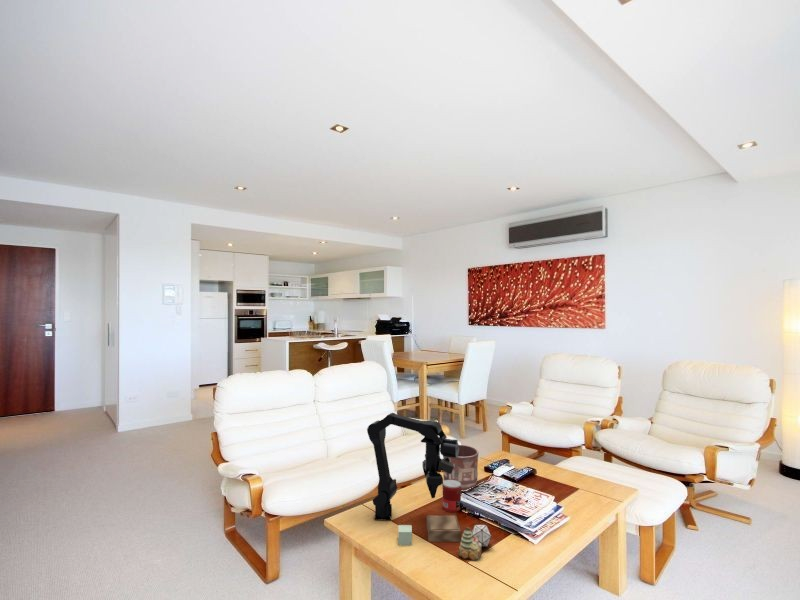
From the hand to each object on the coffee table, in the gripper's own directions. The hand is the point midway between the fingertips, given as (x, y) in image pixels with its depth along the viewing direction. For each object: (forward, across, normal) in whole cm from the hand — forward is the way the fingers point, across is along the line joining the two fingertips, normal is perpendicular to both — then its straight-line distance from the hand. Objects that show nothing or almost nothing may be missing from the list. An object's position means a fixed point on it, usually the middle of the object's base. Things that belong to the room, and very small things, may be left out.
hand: (431, 492), depth 174 cm
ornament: (+14, -20, -12) cm, 27 cm away
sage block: (+14, -11, +11) cm, 21 cm away
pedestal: (+14, -5, -4) cm, 15 cm away
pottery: (+14, +37, -19) cm, 44 cm away
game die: (+14, -15, -17) cm, 26 cm away
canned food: (+14, +16, -11) cm, 24 cm away
